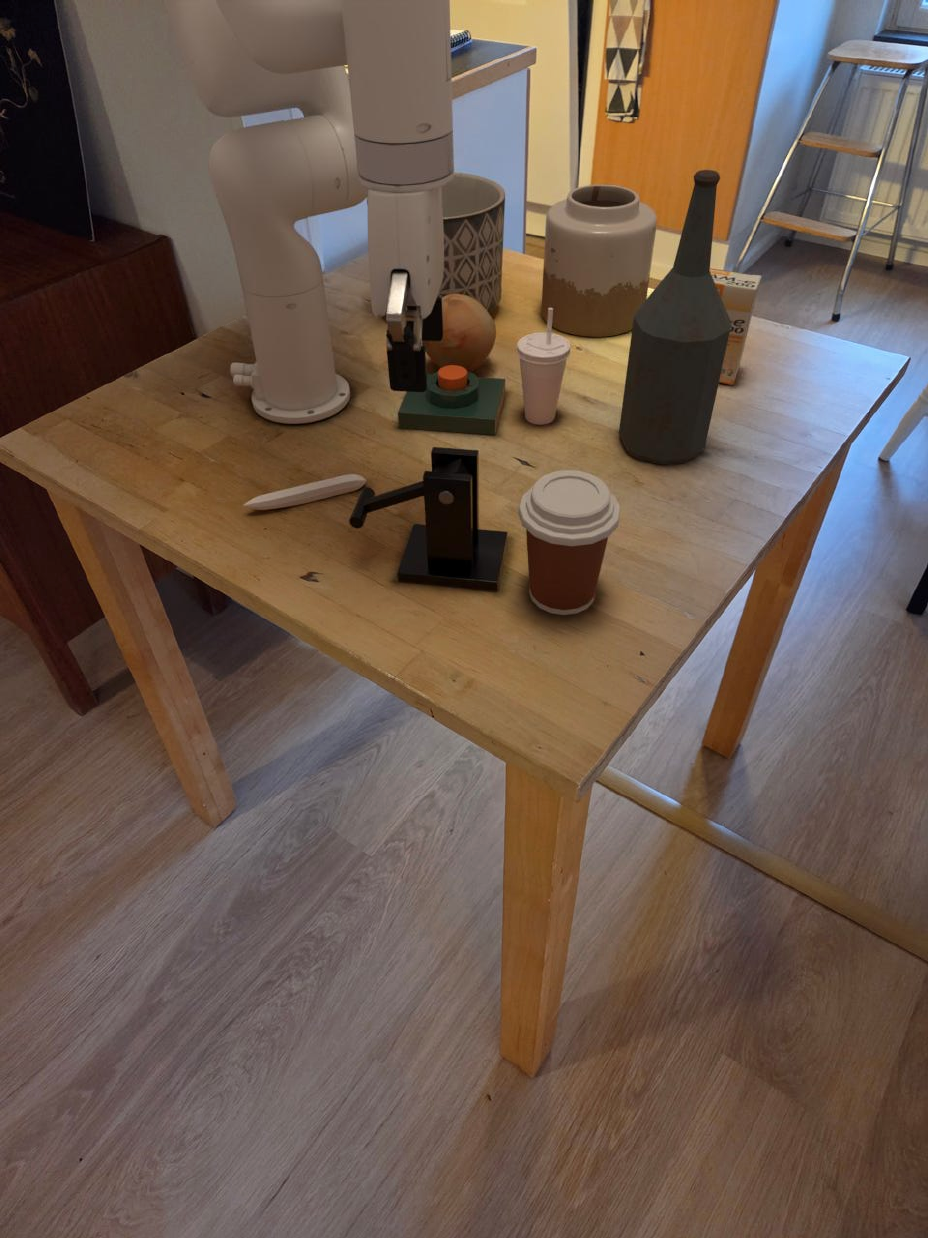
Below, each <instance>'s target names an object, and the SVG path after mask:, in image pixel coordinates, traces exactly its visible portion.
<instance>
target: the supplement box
mask: <svg viewBox="0 0 928 1238" xmlns="http://www.w3.org/2000/svg"><path fill="white" fill-rule="evenodd" d="M710 273H711V275H712V278H713V280H714V282H715V285H716V287H717V290H718V292H719V294H720V297H721V299H722V301H723V304H724V306H725V309H726V311H727V313H728V316H729V318H730V321H731V323H732V324H731V328H730V333H729V338H728V342H727V347H726V352H725V356H724V361H723V366H722V370H721V375H720V380H719V384H726V385H729V386H734V384H735V381H736V377H737V374H738V371H739V369H740V365H741V362H742V357H743V353H744V349H745V346H746V341H747V337H748V334H749V329H750V325H751V321H752V317H753V312H754V308H755V304H756V300H757V297H758V292H759V288H760V285H761V280H762V275H760V274H750V273H744V272H738V271H731V270H725V269H718V268H711V267H710Z"/></svg>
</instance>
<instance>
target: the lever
mask: <svg viewBox="0 0 928 1238" xmlns="http://www.w3.org/2000/svg"><path fill="white" fill-rule="evenodd" d="M434 472H446V473H458V474H469V472H468V470H467V469H466V467H465V465H464V463H463V461H462V459H458V460H455V461H452V462H449V463H446V464H443V465H440V466H437V467H435V469H434ZM421 497H424V489H423V480H421V481H418V482H415V483H412V484H409V485H405V486H402V487H400V488H396V489H393V490H390V491H386V492H384V493H383V492H382V493H381V494H377V495H376V491H375V489H373V488H372V487H369V486H366V487H365V486H364V487H363V488H362V489H361V490H360V494H359V496H358V497H357V500H356V502H355V505H354V507H353V509H352V512H351V515H350V517H349V520H348V524H349V526H350V527H352V528H353V529H356V530H357V529H358V530H359V529H362V528H363V526H364V525H365V522H366V519H367V517H368V514H370V513H373V512H376V511H380V510H382V509H387V508H390V507H393V506H396V505H398V504H402V503H405V502H408V501H411V500H416V499H418V498H421Z"/></svg>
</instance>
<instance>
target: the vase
mask: <svg viewBox="0 0 928 1238" xmlns="http://www.w3.org/2000/svg"><path fill="white" fill-rule="evenodd" d="M657 225H658V216H657V213H656V212H655V210H654V209H653V208H652V207H651V206H649V205H648V204H646V203H644V202H641V200H640V195H639V194H638V193H637V192H636V191H635V190H632V189H630V188H628V187H624V186H621V185H613V184H587V185H583V186H579V187H576V188H574V189H572V190H570V191H569V192H568V193H567V196H566V198H565V199H563V200H560V201H557V202H556V203H554V204H553V205H551V207H550V208H548V210H547V213H546V216H545V227H544V229H545V230H544V249H543V250H544V251H543V269H542V289H541V315H542V318H543V320H544V321H545V322H546V323H547V322H548V308H553V318H552V328H555V329H556V330H557V331H561V332H563V333H567V334H571V335H575V336H581V337H591V338H596V337H597V338H598V337H600V338H601V337H611V336H617V335H621V334H624V333H627V332H629V331H632V327H633V320H634V316H635V314H636V311H637V310H638V309H639V308H640V306H641V305H642V304H643V303H644V302H645V300H646V299H647V298H648V290H649V283H650V276H651V269H652V262H653V254H654V247H655V242H656V241H655V240H656V233H657Z"/></svg>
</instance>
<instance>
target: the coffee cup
mask: <svg viewBox="0 0 928 1238" xmlns="http://www.w3.org/2000/svg"><path fill="white" fill-rule="evenodd" d="M517 510H518V511H517V512H518V514H517V515H518V517H519V519H520V522H521V526H522V527H523V528H524V529H525V533H526V534H525V535H526V551H527V553H526V554H527V567H528V568H527V569H528V585H529V589H528V593H529V596H530V598H531V601H532V602H533V603H534V604H535V605H536V606H537V607H538V608H539V609H541V610H543V611H545V612H547V613H550V614H552V615H553V614H554V615H561V616H566V615H567V616H568V615H577V614H578V613H581V612H583V611H586V610H587V609H588V608H589V607H590V606H591V605H592V604H593V603H594V601H595V595H596V592H597V591H596V590H597V587H598V583H599V577H600V573H601V570H602V565H603V561H604V558H605V553H606V549H607V544H608V540H609V537H610V535H612V534H613V532H615V531H616V529H617V528H618V527H619V522H620V516H621V510H622V509H621V506H620V504H619V502H618V500H617V498H616V496H615V495H614V494H613V493H612V492H611V489H610V488H609V485H608V484H607V483H605V482H604V481H603V480H601V478H599V477H598V476H596V475H594V474H591V473H588V472H585V471H582V470H573V469H563V470H554V471H553V472H550V473H548V474H547V473H546V474H545V475H542V476H541V477H539V478H538V479H537V480H536V481H535V482H534V483H533V484H532V486H531V487H530V488H529V489H528V490H527V491H526V492H525V493H524V494H523V495H521V499H520V502H519V506H518V509H517Z"/></svg>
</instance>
